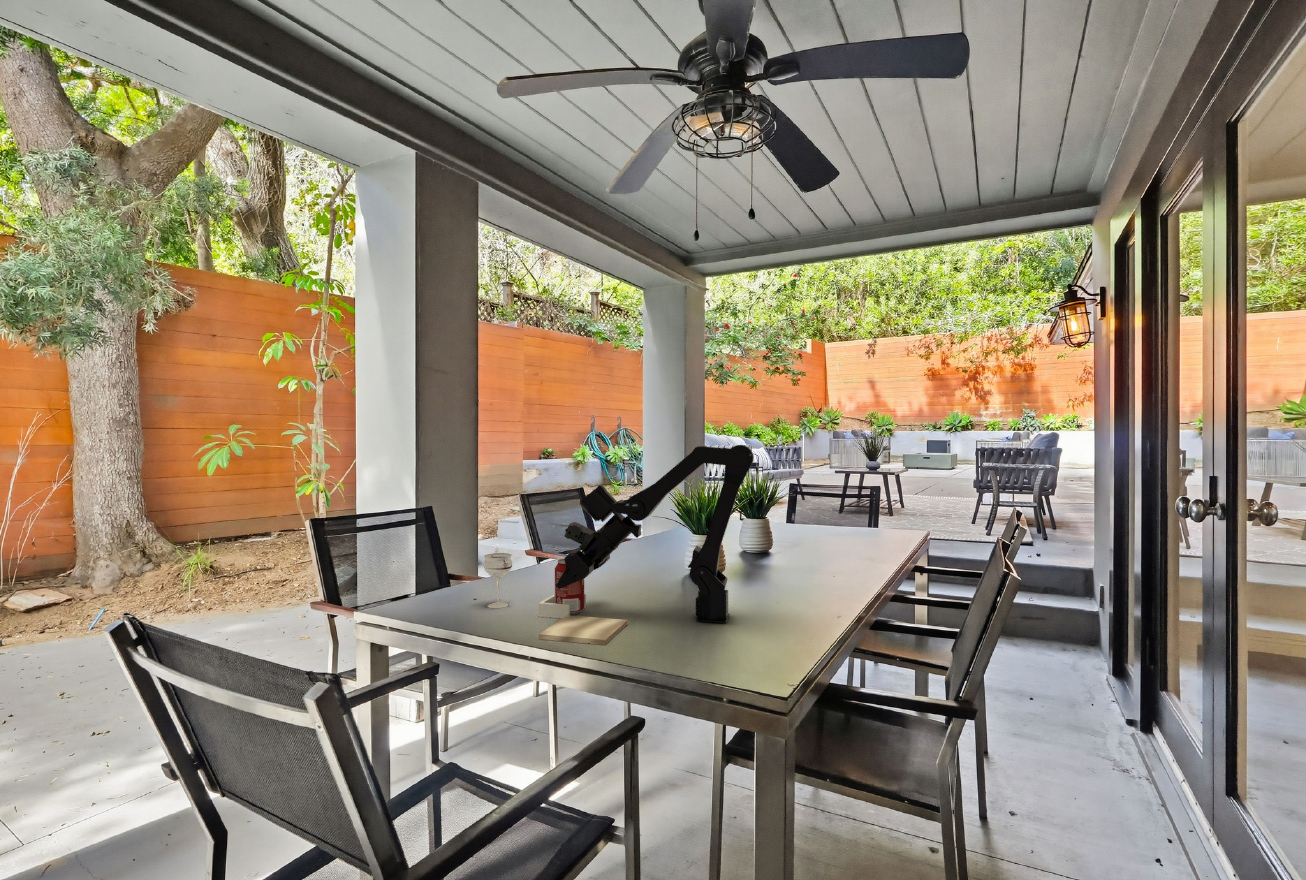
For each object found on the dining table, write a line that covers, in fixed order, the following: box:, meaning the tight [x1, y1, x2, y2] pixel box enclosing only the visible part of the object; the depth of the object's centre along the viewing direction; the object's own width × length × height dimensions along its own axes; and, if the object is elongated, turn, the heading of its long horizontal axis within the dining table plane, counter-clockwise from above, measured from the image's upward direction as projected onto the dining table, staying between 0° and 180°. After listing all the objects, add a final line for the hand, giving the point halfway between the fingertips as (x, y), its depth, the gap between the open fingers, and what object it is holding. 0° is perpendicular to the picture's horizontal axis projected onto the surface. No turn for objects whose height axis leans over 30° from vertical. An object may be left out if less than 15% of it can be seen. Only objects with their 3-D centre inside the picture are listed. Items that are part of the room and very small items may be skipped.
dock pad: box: [538, 615, 629, 646], centre depth 131 cm, size 14×14×1 cm
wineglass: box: [483, 552, 513, 609], centre depth 152 cm, size 7×7×12 cm
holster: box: [537, 593, 587, 619], centre depth 146 cm, size 7×11×3 cm
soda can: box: [554, 558, 585, 616], centre depth 146 cm, size 7×7×12 cm
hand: (564, 582), depth 146 cm, fingers open, 9 cm apart
